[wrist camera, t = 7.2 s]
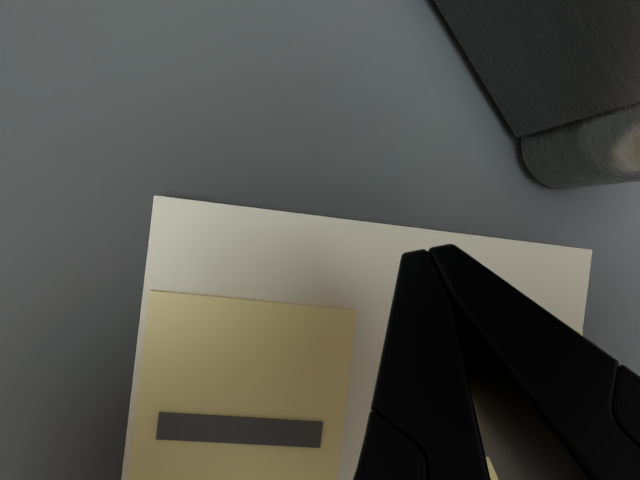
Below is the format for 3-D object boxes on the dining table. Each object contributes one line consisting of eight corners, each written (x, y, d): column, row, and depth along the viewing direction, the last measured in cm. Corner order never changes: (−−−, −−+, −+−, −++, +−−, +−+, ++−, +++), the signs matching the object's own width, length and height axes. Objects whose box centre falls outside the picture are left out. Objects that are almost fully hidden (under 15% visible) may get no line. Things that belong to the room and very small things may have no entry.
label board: (513, 701, 18) (540, 746, 17) (99, 713, 16) (85, 766, 15) (568, 248, 18) (601, 250, 17) (159, 197, 16) (152, 194, 14)
